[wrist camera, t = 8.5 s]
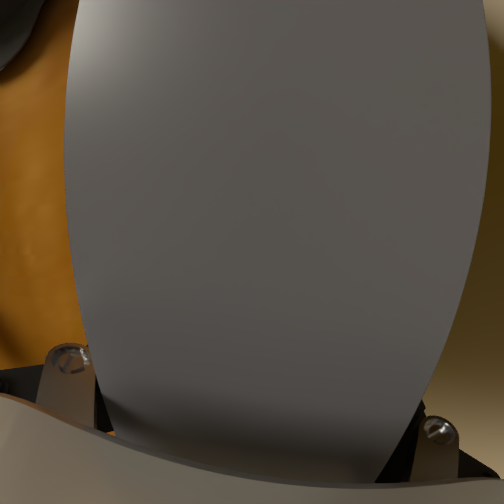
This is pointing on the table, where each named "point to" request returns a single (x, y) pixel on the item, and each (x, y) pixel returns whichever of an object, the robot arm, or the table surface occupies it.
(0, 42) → the casserole
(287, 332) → the bar
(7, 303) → the table surface
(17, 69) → the table surface
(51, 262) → the table surface
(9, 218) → the table surface
